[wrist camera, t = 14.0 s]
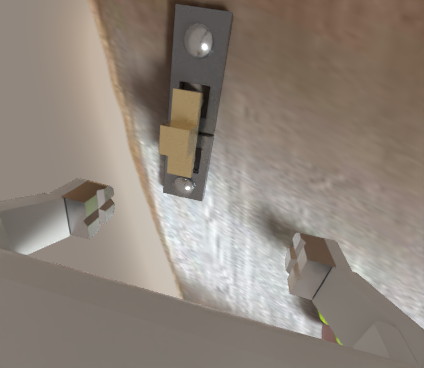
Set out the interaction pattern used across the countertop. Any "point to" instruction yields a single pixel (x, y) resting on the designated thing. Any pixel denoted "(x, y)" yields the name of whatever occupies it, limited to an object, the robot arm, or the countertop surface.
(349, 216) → the countertop surface
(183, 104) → the tan bridge piece
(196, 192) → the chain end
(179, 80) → the plate
